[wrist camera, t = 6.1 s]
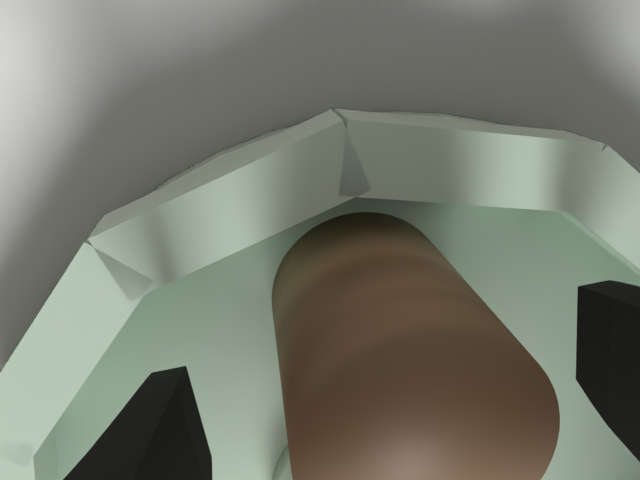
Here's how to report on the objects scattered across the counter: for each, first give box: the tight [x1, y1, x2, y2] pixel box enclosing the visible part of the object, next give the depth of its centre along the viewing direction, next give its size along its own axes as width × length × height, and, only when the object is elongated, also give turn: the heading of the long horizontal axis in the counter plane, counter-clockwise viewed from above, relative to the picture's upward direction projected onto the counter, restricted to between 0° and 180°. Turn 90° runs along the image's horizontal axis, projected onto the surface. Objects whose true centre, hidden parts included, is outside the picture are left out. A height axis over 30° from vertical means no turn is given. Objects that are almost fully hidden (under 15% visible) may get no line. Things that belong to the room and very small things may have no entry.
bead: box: [272, 212, 560, 480], centre depth 10 cm, size 4×4×5 cm
